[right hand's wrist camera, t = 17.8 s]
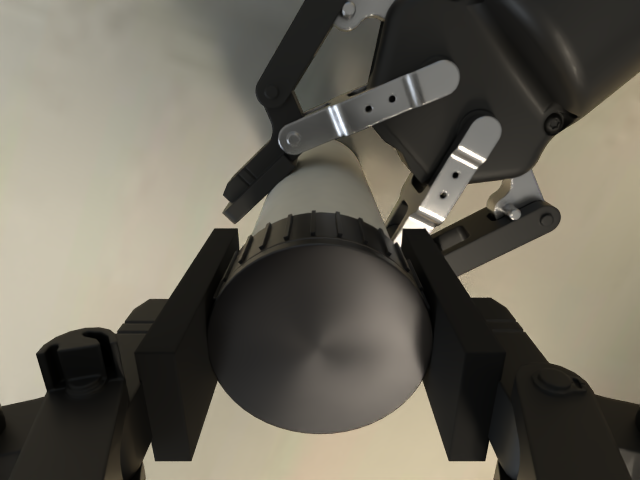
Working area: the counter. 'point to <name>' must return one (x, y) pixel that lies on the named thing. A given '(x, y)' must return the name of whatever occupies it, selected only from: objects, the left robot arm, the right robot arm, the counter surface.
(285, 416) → the lid
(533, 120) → the left robot arm
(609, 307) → the counter surface
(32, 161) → the counter surface
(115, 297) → the counter surface
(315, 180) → the jar
